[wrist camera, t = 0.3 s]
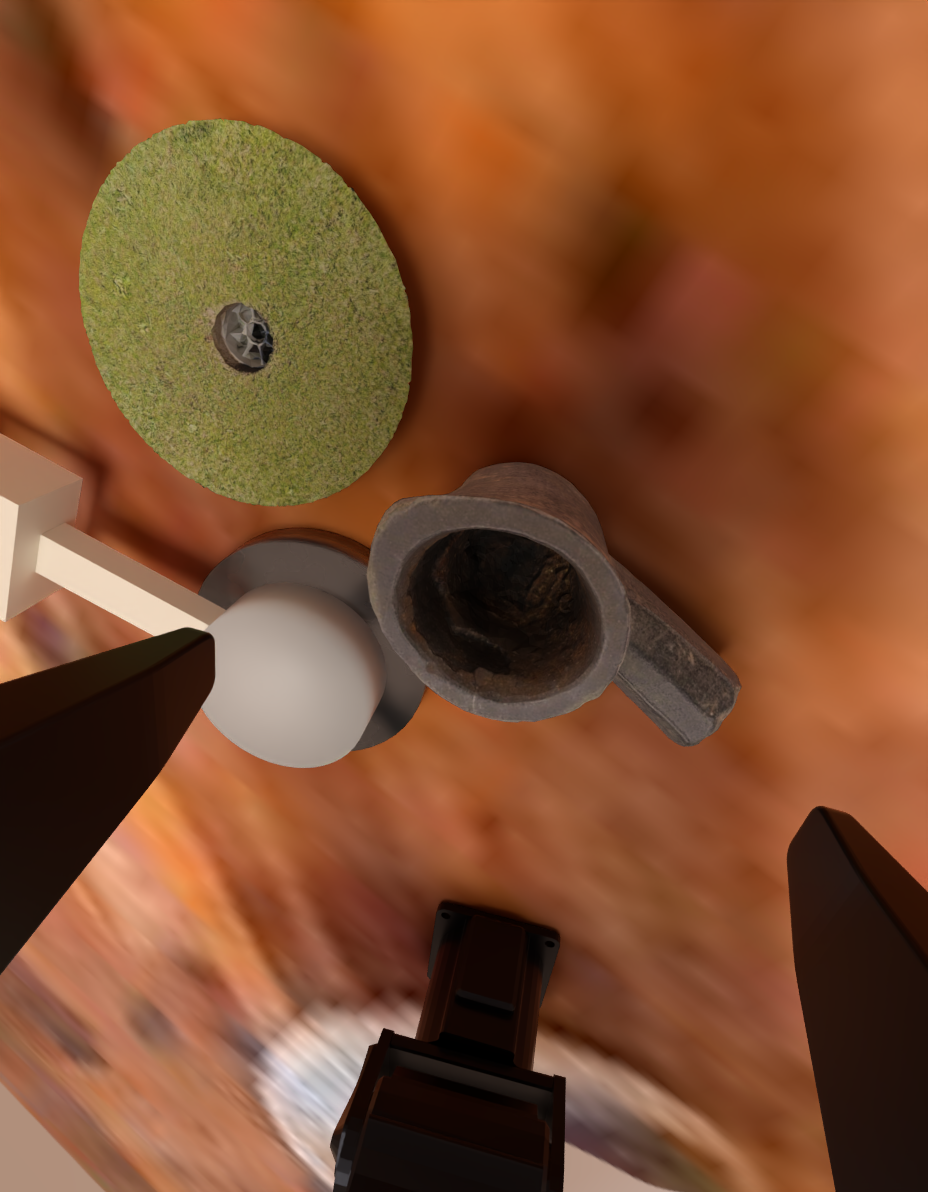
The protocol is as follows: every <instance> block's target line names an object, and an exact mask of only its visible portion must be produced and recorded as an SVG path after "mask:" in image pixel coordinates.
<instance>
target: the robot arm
mask: <svg viewBox="0 0 928 1192" xmlns="http://www.w3.org/2000/svg"><path fill="white" fill-rule="evenodd" d="M215 675H216V672H215V640H214V637H213V635H212V634H210V633H209V632H205V631H202V630H198V629H195V628H191V627H184V628H180V629H177V630H174V631H171V632H167V633H164V634H161V635H158V636H154V637H151V638H148V639H145V640H141V641H138V642H135V643H132V644H128V645H125V646H122V647H119V648H115V649H112V650H109V651H105V652H102V653H99V654H96V655H92V656H89V657H86V658H83V659H79V660H76V661H73V662H70V663H66V664H63V665H60V666H57V667H53V668H50V669H47V670H44V671H40V672H37V673H34V674H30V675H27V676H24V677H21V678H17V679H14V680H11V681H8V682H4V683H1V684H0V975H1V973H2V972H3V971H4V970H5V968H6V967H7V966H8V965H9V963H10V962H11V961H12V960H13V958H14V957H15V956H16V954H17V953H18V952H19V951H20V949H21V948H22V947H23V946H24V944H25V943H26V942H27V941H28V939H29V938H30V937H31V936H32V934H33V933H34V932H35V930H36V929H37V928H38V927H39V925H40V924H41V923H42V922H43V920H44V919H45V918H46V917H47V915H48V914H49V913H50V911H51V910H52V909H53V908H54V906H55V905H56V904H57V903H58V901H59V900H60V899H61V898H62V896H63V895H64V894H65V892H66V891H67V890H68V889H69V887H70V886H71V885H72V884H73V882H74V881H75V880H76V879H77V877H78V876H79V875H80V874H81V872H82V871H83V870H84V868H85V867H86V866H87V865H88V863H89V862H90V861H91V860H92V858H93V857H94V856H95V855H96V853H97V852H98V851H99V849H100V848H101V847H102V846H103V844H104V843H105V842H106V841H107V839H108V838H109V837H110V836H111V834H112V833H113V832H114V830H115V829H116V828H117V827H118V825H119V824H120V823H121V822H122V820H123V819H124V818H125V817H126V815H127V814H128V813H129V811H130V810H131V809H132V808H133V806H134V805H135V804H136V803H137V801H138V800H139V799H140V798H141V796H142V795H143V794H144V793H145V791H146V790H147V789H148V787H149V786H150V785H151V784H152V782H153V781H154V780H155V778H156V777H157V776H158V774H159V773H160V771H161V770H162V769H163V767H164V766H165V764H166V763H167V761H168V760H169V758H170V756H171V755H172V753H173V752H174V750H175V748H176V747H177V745H178V744H179V742H180V740H181V739H182V737H183V736H184V734H185V732H186V731H187V729H188V728H189V726H190V724H191V723H192V721H193V720H194V718H195V716H196V715H197V713H198V712H199V710H200V708H201V707H202V705H203V704H204V702H205V701H206V699H207V697H208V696H209V694H210V692H211V691H212V688H213V686H214V683H215ZM787 871H788V885H789V899H790V913H791V927H792V941H793V953H794V963H795V971H796V977H797V983H798V989H799V995H800V1000H801V1005H802V1011H803V1016H804V1022H805V1027H806V1033H807V1038H808V1044H809V1049H810V1054H811V1060H812V1065H813V1071H814V1076H815V1082H816V1087H817V1093H818V1098H819V1103H820V1109H821V1114H822V1120H823V1125H824V1131H825V1136H826V1142H827V1147H828V1152H829V1158H830V1163H831V1169H832V1174H833V1180H834V1185H835V1190H836V1192H928V892H927V891H926V890H925V889H924V888H923V887H922V886H921V885H920V884H919V883H918V882H917V881H916V880H915V879H914V878H913V877H912V876H911V875H910V874H909V873H908V872H907V871H906V870H905V869H904V868H903V867H902V866H901V865H900V864H899V863H898V862H897V861H896V860H895V859H894V858H893V857H892V856H891V855H890V854H889V853H888V852H887V851H886V850H885V849H884V848H883V847H882V846H881V845H880V844H879V843H878V842H877V841H876V840H875V839H874V838H873V837H872V836H871V835H870V834H869V833H868V832H867V831H866V830H865V829H864V828H863V827H862V826H861V825H860V824H859V823H858V822H857V821H856V820H855V819H854V818H853V817H852V816H851V815H850V814H848V813H846V812H843V811H839V810H835V809H832V808H828V807H825V806H817V807H815V808H814V809H812V811H811V812H810V813H809V815H808V816H807V818H806V819H805V821H804V823H803V824H802V826H801V827H800V829H799V830H798V832H797V834H796V835H795V837H794V838H793V840H792V841H791V843H790V846H789V848H788V853H787ZM559 947H560V936H559V935H558V934H557V933H556V932H553V931H550V930H546V929H543V928H539V927H535V926H532V925H528V924H524V923H521V922H517V921H513V920H509V919H506V918H502V917H498V916H495V915H491V914H487V913H483V912H480V911H476V910H472V909H469V908H465V907H461V906H457V905H454V904H450V903H441V904H439V906H438V910H437V913H436V920H435V926H434V933H433V940H432V946H431V953H430V959H429V966H428V972H427V976H428V977H429V979H430V983H429V987H428V991H427V994H426V998H425V1002H424V1006H423V1010H422V1014H421V1018H420V1021H419V1025H418V1029H417V1033H416V1037H415V1039H413V1038H409V1037H406V1036H402V1035H398V1034H395V1033H394V1031H392V1030H389V1029H385V1028H383V1030H382V1033H381V1036H380V1038H379V1041H378V1043H377V1044H374V1045H370V1046H369V1048H368V1051H367V1055H366V1058H365V1061H364V1064H363V1067H362V1070H361V1073H360V1076H359V1079H358V1082H357V1085H356V1087H355V1089H354V1091H353V1093H352V1095H351V1097H350V1099H349V1102H348V1104H347V1106H346V1108H345V1110H344V1112H343V1114H342V1116H341V1118H340V1120H339V1122H338V1124H337V1126H336V1128H335V1130H334V1133H333V1136H332V1139H331V1144H330V1148H331V1151H332V1154H333V1156H334V1159H335V1162H336V1165H335V1173H334V1176H335V1182H334V1189H333V1192H563V1182H564V1145H565V1090H566V1078H565V1077H562V1076H558V1075H554V1076H549V1075H545V1074H542V1073H538V1072H534V1071H533V1063H534V1054H535V1044H536V1035H537V1025H538V1016H539V1008H540V1007H541V1004H542V1001H543V998H544V995H545V992H546V988H547V985H548V982H549V979H550V976H551V973H552V969H553V966H554V963H555V960H556V957H557V954H558V950H559Z"/></svg>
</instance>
